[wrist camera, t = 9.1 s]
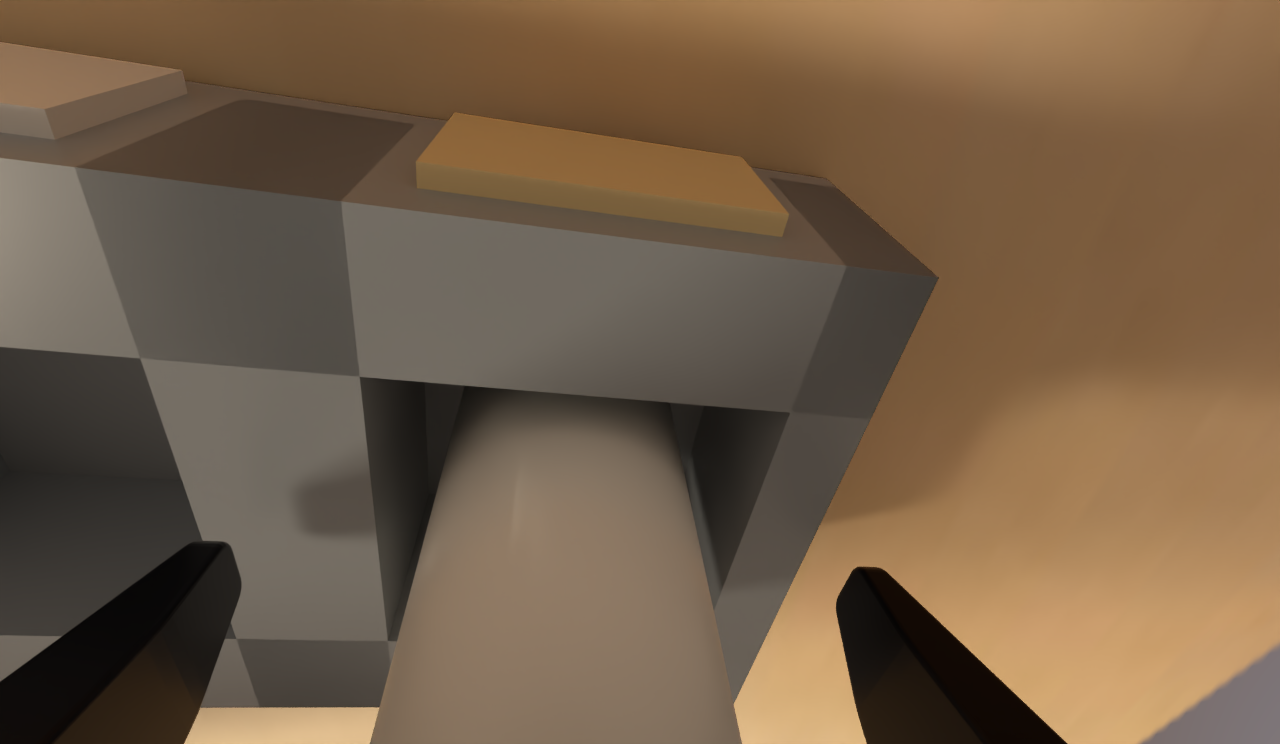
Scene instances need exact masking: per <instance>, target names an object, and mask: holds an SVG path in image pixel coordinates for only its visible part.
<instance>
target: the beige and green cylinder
mask: <svg viewBox="0 0 1280 744" xmlns="http://www.w3.org/2000/svg"><path fill="white" fill-rule="evenodd" d="M370 744H742V742H741V737H740V732H739V728H738V723H737V718H736V714H735V709H734V704H733V700H732V695H731V690H730V685H729V681H728V676H727V671H726V667H725V662H724V657H723V653H722V648H721V643H720V638H719V634H718V629H717V624H716V620H715V615H714V610H713V606H712V601H711V596H710V591H709V587H708V582H707V577H706V573H705V568H704V563H703V559H702V554H701V549H700V545H699V540H698V535H697V530H696V526H695V521H694V516H693V512H692V507H691V502H690V498H689V493H688V488H687V483H686V479H685V474H684V469H683V465H682V460H681V455H680V451H679V446H678V441H677V436H676V432H675V427H674V422H673V418H672V413H671V408H670V404H669V403H668V402H656V401H644V400H632V399H620V398H608V397H596V396H584V395H572V394H560V393H548V392H536V391H524V390H512V389H500V388H488V387H476V386H465V387H464V390H463V394H462V398H461V402H460V406H459V409H458V413H457V417H456V421H455V424H454V428H453V432H452V436H451V440H450V443H449V447H448V451H447V455H446V458H445V462H444V466H443V470H442V474H441V477H440V481H439V485H438V489H437V492H436V496H435V500H434V504H433V507H432V511H431V515H430V519H429V523H428V526H427V530H426V534H425V538H424V541H423V545H422V549H421V553H420V557H419V560H418V564H417V568H416V572H415V575H414V579H413V583H412V587H411V591H410V594H409V598H408V602H407V606H406V609H405V613H404V617H403V621H402V625H401V628H400V632H399V636H398V640H397V643H396V647H395V651H394V655H393V658H392V662H391V666H390V670H389V674H388V677H387V681H386V685H385V689H384V692H383V696H382V700H381V704H380V708H379V711H378V715H377V719H376V723H375V726H374V730H373V734H372V738H371V742H370Z"/></svg>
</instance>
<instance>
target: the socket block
mask: <svg viewBox="0 0 1280 744" xmlns="http://www.w3.org/2000/svg"><path fill="white" fill-rule="evenodd" d="M937 280H938V277H937V276H936V275H935V274H934V273H933V272H932V271H930V270H929V269H928V268H927V267H926V266H925V265H924V264H922V263H921V262H920V261H919V260H918V259H917V258H916V257H915V256H913V255H912V254H911V253H910V252H909V251H908V250H907V249H905V248H904V247H903V246H902V245H901V244H900V243H899V242H897V241H896V240H895V239H894V238H893V237H892V236H891V235H890V234H888V233H887V232H886V231H885V230H884V229H883V228H882V227H880V226H879V225H878V224H877V223H876V222H875V221H874V220H873V219H871V218H870V217H869V216H868V215H867V214H866V213H865V212H863V211H862V210H861V209H860V208H859V207H858V206H857V205H856V204H854V203H853V202H852V201H851V200H850V199H849V198H848V197H846V196H845V195H844V194H843V193H842V192H841V191H840V190H839V189H837V188H836V187H835V186H834V185H833V184H832V183H831V182H829V181H828V180H827V179H825V178H819V177H812V176H805V175H799V174H792V173H786V172H779V171H773V170H766V169H760V168H753V167H750V166H749V165H748V164H747V163H746V161H745V160H744V159H743V158H742V157H739V156H733V155H726V154H720V153H713V152H707V151H701V150H694V149H688V148H681V147H675V146H668V145H662V144H655V143H649V142H643V141H636V140H630V139H623V138H617V137H610V136H604V135H597V134H591V133H585V132H578V131H572V130H565V129H559V128H552V127H546V126H539V125H533V124H527V123H520V122H514V121H507V120H501V119H494V118H488V117H481V116H475V115H469V114H462V113H456V112H455V113H454V114H453V115H452V116H451V118H450V119H449V120H448V121H445V120H439V119H432V118H426V117H419V116H412V115H406V114H399V113H393V112H386V111H380V110H373V109H367V108H360V107H353V106H347V105H340V104H334V103H327V102H321V101H314V100H308V99H301V98H295V97H288V96H281V95H275V94H268V93H262V92H255V91H249V90H242V89H236V88H229V87H222V86H216V85H209V84H203V83H196V82H190V81H185V79H184V75H183V70H179V69H172V68H166V67H159V66H153V65H146V64H140V63H134V62H127V61H121V60H114V59H108V58H101V57H95V56H88V55H82V54H76V53H69V52H63V51H56V50H50V49H43V48H37V47H30V46H24V45H18V44H11V43H5V42H0V681H2V680H3V679H4V678H6V677H7V676H8V675H10V674H11V673H12V672H14V671H15V670H17V669H18V668H19V667H21V666H22V665H23V664H25V663H26V662H27V661H29V660H30V659H32V658H33V657H34V656H36V655H37V654H38V653H40V652H41V651H42V650H44V649H45V648H47V647H48V646H49V645H51V644H52V643H53V642H55V641H56V640H57V639H59V638H60V637H62V636H63V635H64V634H66V633H67V632H68V631H70V630H71V629H72V628H74V627H75V626H77V625H78V624H79V623H81V622H82V621H83V620H85V619H86V618H87V617H89V616H90V615H92V614H93V613H94V612H96V611H97V610H98V609H100V608H101V607H102V606H104V605H105V604H107V603H108V602H109V601H111V600H112V599H113V598H115V597H116V596H117V595H119V594H120V593H122V592H123V591H124V590H126V589H127V588H128V587H130V586H131V585H132V584H134V583H135V582H137V581H138V580H139V579H141V578H142V577H143V576H145V575H146V574H147V573H149V572H150V571H152V570H153V569H154V568H156V567H157V566H158V565H160V564H161V563H162V562H164V561H165V560H167V559H168V558H169V557H171V556H172V555H173V554H175V553H176V552H177V551H179V550H180V549H182V548H183V547H184V546H186V545H187V544H189V543H191V542H194V541H200V540H202V541H224V542H227V543H228V544H229V545H231V548H232V550H233V553H234V557H235V560H236V563H237V566H238V570H239V573H240V576H241V581H242V588H241V594H240V598H239V601H238V603H237V606H236V609H235V612H234V615H233V618H232V620H231V623H230V626H229V629H228V632H227V634H226V637H225V640H224V643H223V646H222V648H221V651H220V654H219V657H218V660H217V663H216V665H215V668H214V671H213V674H212V677H211V679H210V682H209V685H208V688H207V691H206V694H205V696H204V699H203V701H202V704H201V707H200V708H212V707H380V704H381V700H382V696H383V692H384V689H385V685H386V681H387V677H388V674H389V670H390V666H391V662H392V658H393V655H394V651H395V647H396V643H397V640H398V636H399V632H400V628H401V625H402V621H403V617H404V613H405V609H406V606H407V602H408V598H409V594H410V591H411V587H412V583H413V579H414V575H415V572H416V568H417V564H418V560H419V557H420V553H421V549H422V545H423V541H424V538H425V534H426V530H427V526H428V523H429V519H430V515H431V511H432V507H433V504H434V500H435V496H436V492H437V489H438V485H439V481H440V477H441V474H442V470H443V466H444V462H445V458H446V455H447V451H448V447H449V443H450V440H451V436H452V432H453V428H454V424H455V421H456V417H457V413H458V409H459V406H460V402H461V398H462V394H463V390H464V387H465V386H476V387H488V388H500V389H512V390H524V391H536V392H548V393H560V394H572V395H584V396H596V397H608V398H620V399H632V400H644V401H656V402H668V403H669V404H670V408H671V413H672V418H673V422H674V427H675V432H676V436H677V441H678V446H679V451H680V455H681V460H682V465H683V469H684V474H685V479H686V483H687V488H688V493H689V498H690V502H691V507H692V512H693V516H694V521H695V526H696V530H697V535H698V540H699V545H700V549H701V554H702V559H703V563H704V568H705V573H706V577H707V582H708V587H709V591H710V596H711V601H712V606H713V610H714V615H715V620H716V624H717V629H718V634H719V638H720V643H721V648H722V653H723V657H724V662H725V667H726V671H727V676H728V681H729V685H730V690H731V695H732V700H733V704H734V702H735V700H736V698H737V696H738V694H739V692H740V690H741V687H742V685H743V683H744V681H745V679H746V677H747V675H748V673H749V671H750V669H751V667H752V665H753V663H754V660H755V658H756V656H757V654H758V652H759V650H760V648H761V646H762V644H763V642H764V640H765V638H766V636H767V633H768V631H769V629H770V627H771V625H772V623H773V621H774V619H775V617H776V615H777V613H778V611H779V609H780V606H781V604H782V602H783V600H784V598H785V596H786V594H787V592H788V590H789V588H790V586H791V584H792V582H793V579H794V577H795V575H796V573H797V571H798V569H799V567H800V565H801V563H802V561H803V559H804V557H805V554H806V552H807V550H808V548H809V546H810V544H811V542H812V540H813V538H814V536H815V534H816V532H817V530H818V527H819V525H820V523H821V521H822V519H823V517H824V515H825V513H826V511H827V509H828V507H829V505H830V503H831V500H832V498H833V496H834V494H835V492H836V490H837V488H838V486H839V484H840V482H841V480H842V478H843V476H844V473H845V471H846V469H847V467H848V465H849V463H850V461H851V459H852V457H853V455H854V453H855V451H856V449H857V446H858V444H859V442H860V440H861V438H862V436H863V434H864V432H865V430H866V428H867V426H868V424H869V421H870V419H871V417H872V415H873V413H874V411H875V409H876V407H877V405H878V403H879V401H880V399H881V397H882V394H883V392H884V390H885V388H886V386H887V384H888V382H889V380H890V378H891V376H892V374H893V372H894V370H895V367H896V365H897V363H898V361H899V359H900V357H901V355H902V353H903V351H904V349H905V347H906V345H907V343H908V340H909V338H910V336H911V334H912V332H913V330H914V328H915V326H916V324H917V322H918V320H919V318H920V316H921V313H922V311H923V309H924V307H925V305H926V303H927V301H928V299H929V297H930V295H931V293H932V291H933V289H934V286H935V284H936V282H937Z"/></svg>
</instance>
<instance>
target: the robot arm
mask: <svg viewBox="0 0 1280 744" xmlns="http://www.w3.org/2000/svg"><path fill="white" fill-rule="evenodd" d="M241 588H242V581H241V576H240V573H239V570H238V566H237V563H236V560H235V557H234V553H233V550H232V548H231V545H229V544H228V543H227V542H224V541H202V540H200V541H194V542H191V543H189V544H187V545H186V546H184V547H183V548H182V549H180V550H179V551H177V552H176V553H175V554H173V555H172V556H171V557H169V558H168V559H167V560H165V561H164V562H162V563H161V564H160V565H158V566H157V567H156V568H154V569H153V570H152V571H150V572H149V573H147V574H146V575H145V576H143V577H142V578H141V579H139V580H138V581H137V582H135V583H134V584H132V585H131V586H130V587H128V588H127V589H126V590H124V591H123V592H122V593H120V594H119V595H117V596H116V597H115V598H113V599H112V600H111V601H109V602H108V603H107V604H105V605H104V606H102V607H101V608H100V609H98V610H97V611H96V612H94V613H93V614H92V615H90V616H89V617H87V618H86V619H85V620H83V621H82V622H81V623H79V624H78V625H77V626H75V627H74V628H72V629H71V630H70V631H68V632H67V633H66V634H64V635H63V636H62V637H60V638H59V639H57V640H56V641H55V642H53V643H52V644H51V645H49V646H48V647H47V648H45V649H44V650H42V651H41V652H40V653H38V654H37V655H36V656H34V657H33V658H32V659H30V660H29V661H27V662H26V663H25V664H23V665H22V666H21V667H19V668H18V669H17V670H15V671H14V672H12V673H11V674H10V675H8V676H7V677H6V678H4V679H3V680H2V681H0V744H184V743H185V740H186V738H187V736H188V734H189V732H190V730H191V728H192V725H193V723H194V721H195V719H196V716H197V714H198V712H199V709H200V707H201V704H202V701H203V699H204V696H205V694H206V691H207V688H208V685H209V682H210V679H211V677H212V674H213V671H214V668H215V665H216V663H217V660H218V657H219V654H220V651H221V648H222V646H223V643H224V640H225V637H226V634H227V632H228V629H229V626H230V623H231V620H232V618H233V615H234V612H235V609H236V606H237V603H238V601H239V598H240V594H241ZM836 613H837V618H838V623H839V628H840V633H841V638H842V642H843V647H844V652H845V657H846V662H847V667H848V671H849V676H850V681H851V686H852V691H853V696H854V700H855V704H856V708H857V712H858V716H859V719H860V723H861V726H862V729H863V733H864V736H865V739H866V742H867V744H1067V743H1066V742H1065V741H1064V740H1063V739H1062V738H1061V737H1060V736H1059V735H1058V734H1057V733H1056V732H1055V731H1054V730H1052V729H1051V728H1050V727H1049V726H1048V725H1047V724H1046V723H1045V722H1044V721H1043V720H1042V719H1041V718H1040V717H1039V716H1038V715H1037V714H1036V713H1035V712H1034V711H1032V710H1031V709H1030V708H1029V707H1028V706H1027V705H1026V704H1025V703H1024V702H1023V701H1022V700H1021V699H1020V698H1019V697H1018V696H1017V695H1016V694H1015V693H1014V692H1012V691H1011V690H1010V689H1009V688H1008V687H1007V686H1006V685H1005V684H1004V683H1003V682H1002V681H1001V680H1000V679H999V678H998V677H997V676H996V675H995V674H994V673H992V672H991V671H990V670H989V669H988V668H987V667H986V666H985V665H984V664H983V663H982V662H981V661H980V660H979V659H978V658H977V657H976V656H975V655H974V654H972V653H971V652H970V651H969V650H968V649H967V648H966V647H965V646H964V645H963V644H962V643H961V642H960V641H959V640H958V639H957V638H956V637H955V636H954V635H952V634H951V633H950V632H949V631H948V630H947V629H946V628H945V627H944V626H943V625H942V624H941V623H940V622H939V621H938V620H937V619H936V618H935V617H934V616H932V615H931V614H930V613H929V612H928V611H927V610H926V609H925V608H924V607H923V606H922V605H921V604H920V603H919V602H918V601H917V600H916V599H915V598H914V597H912V596H911V595H910V594H909V593H908V592H907V591H906V590H905V589H904V588H903V587H902V586H901V585H900V584H899V583H898V582H897V581H896V580H895V579H894V578H892V577H891V576H890V575H889V574H888V573H887V572H886V571H885V570H883V569H881V568H877V567H857V568H855V569H854V570H853V571H852V572H851V574H850V576H849V578H848V580H847V581H846V583H845V585H844V587H843V588H842V590H841V592H840V594H839V596H838V598H837V602H836Z"/></svg>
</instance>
